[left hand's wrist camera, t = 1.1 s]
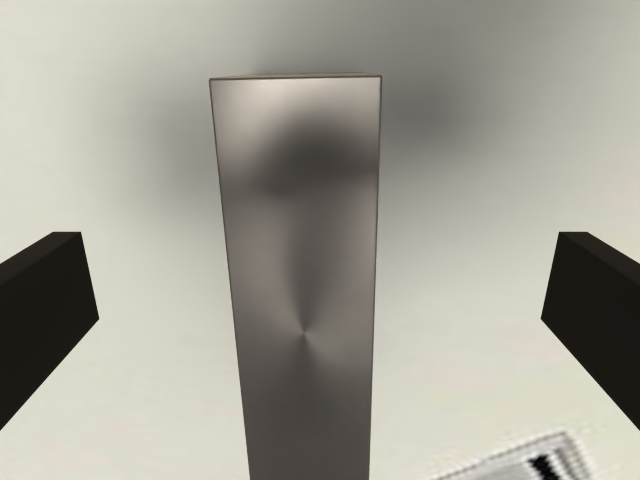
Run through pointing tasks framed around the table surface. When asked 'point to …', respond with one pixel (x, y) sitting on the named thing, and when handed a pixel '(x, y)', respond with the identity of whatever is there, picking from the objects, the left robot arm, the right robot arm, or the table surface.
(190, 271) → the table surface
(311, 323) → the box
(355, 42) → the table surface
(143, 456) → the table surface
